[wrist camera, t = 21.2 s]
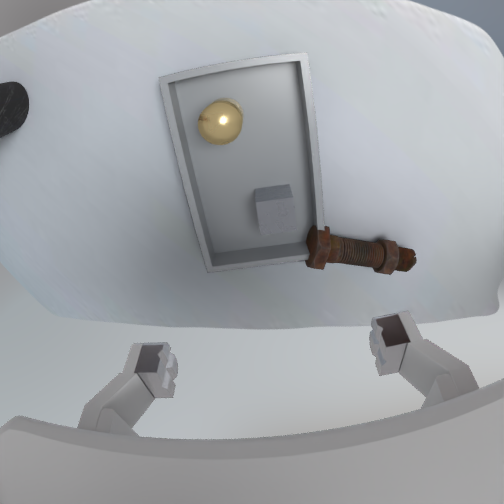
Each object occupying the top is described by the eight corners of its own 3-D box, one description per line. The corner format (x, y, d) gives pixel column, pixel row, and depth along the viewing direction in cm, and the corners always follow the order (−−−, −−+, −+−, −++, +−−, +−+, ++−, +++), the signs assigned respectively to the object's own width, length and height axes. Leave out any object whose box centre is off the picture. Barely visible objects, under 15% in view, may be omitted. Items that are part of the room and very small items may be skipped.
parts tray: (301, 54, 29) (307, 52, 26) (320, 242, 41) (325, 257, 38) (167, 76, 30) (158, 77, 27) (210, 256, 42) (207, 272, 39)
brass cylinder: (240, 94, 31) (238, 99, 26) (246, 129, 33) (245, 141, 28) (203, 101, 31) (193, 107, 26) (210, 135, 33) (202, 148, 28)
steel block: (289, 184, 36) (293, 197, 33) (292, 214, 38) (296, 230, 35) (255, 188, 37) (255, 202, 33) (260, 218, 39) (261, 235, 35)
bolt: (398, 250, 43) (303, 235, 41) (417, 233, 39) (316, 214, 37) (404, 287, 41) (304, 276, 39) (425, 272, 36) (318, 258, 34)
